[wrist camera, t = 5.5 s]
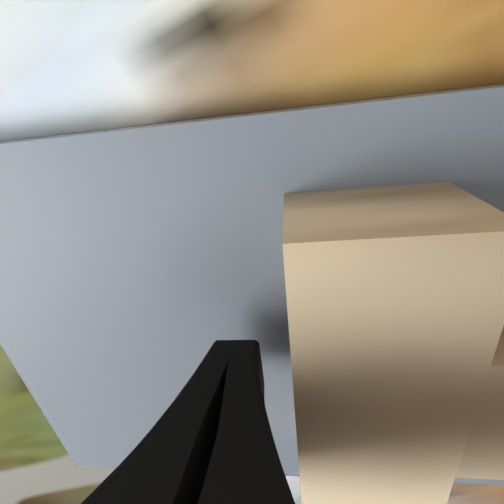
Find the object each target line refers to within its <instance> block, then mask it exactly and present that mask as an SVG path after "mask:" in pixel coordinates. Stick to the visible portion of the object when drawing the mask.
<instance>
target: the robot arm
mask: <svg viewBox="0 0 504 504" xmlns="http://www.w3.org/2000/svg"><path fill="white" fill-rule="evenodd" d="M81 504H295V503H294V500H293V497H292V494H291V491H290V488H289V485H288V483H287V480H286V477H285V474H284V471H283V468H282V465H281V461H280V458H279V455H278V452H277V449H276V445H275V442H274V438H273V435H272V431H271V427H270V424H269V420H268V416H267V412H266V408H265V400H264V376H263V368H262V360H261V352H260V344H259V342H258V341H256V340H216V341H215V342H214V343H213V345H212V346H211V348H210V349H209V351H208V352H207V354H206V355H205V357H204V359H203V360H202V362H201V363H200V365H199V366H198V368H197V369H196V370H195V372H194V373H193V375H192V376H191V378H190V379H189V380H188V382H187V383H186V385H185V386H184V387H183V389H182V390H181V391H180V393H179V394H178V396H177V397H176V398H175V400H174V401H173V402H172V404H171V405H170V406H169V407H168V409H167V410H166V411H165V412H164V414H163V415H162V416H161V417H160V419H159V420H158V421H157V422H156V424H155V425H154V426H153V427H152V429H151V430H150V431H149V432H148V433H147V434H146V436H145V437H144V438H143V439H142V440H141V441H140V443H139V444H138V445H137V446H136V447H135V448H134V449H133V450H132V452H131V453H130V454H129V455H128V456H127V457H126V458H125V459H124V460H123V461H122V462H121V464H120V465H119V466H118V467H117V468H116V469H115V470H114V471H113V472H112V473H111V474H110V475H109V476H108V477H107V478H106V479H105V480H104V481H103V482H102V483H101V484H100V485H99V486H98V487H97V488H96V489H95V490H94V491H93V492H92V493H91V494H90V495H89V496H88V497H87V498H86V499H85V500H84V501H83V502H82V503H81Z"/></svg>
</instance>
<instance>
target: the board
mask: <svg viewBox="0 0 504 504" xmlns="http://www.w3.org/2000/svg"><path fill="white" fill-rule="evenodd" d="M444 181H449V182H451V183H453V184H454V185H456V186H458V187H460V188H461V189H463V190H465V191H467V192H468V193H470V194H472V195H474V196H476V197H477V198H479V199H481V200H483V201H484V202H486V203H488V204H490V205H491V206H493V207H495V208H497V209H499V210H500V211H502V212H504V84H498V85H489V86H480V87H472V88H463V89H454V90H446V91H437V92H428V93H419V94H411V95H402V96H393V97H385V98H376V99H367V100H359V101H350V102H341V103H333V104H324V105H315V106H307V107H298V108H289V109H281V110H272V111H263V112H255V113H246V114H237V115H229V116H220V117H211V118H202V119H194V120H185V121H176V122H168V123H159V124H150V125H142V126H133V127H124V128H116V129H107V130H98V131H90V132H81V133H72V134H64V135H55V136H46V137H38V138H29V139H20V140H12V141H3V142H0V344H1V346H2V347H3V349H4V351H5V352H6V354H7V355H8V357H9V359H10V360H11V362H12V364H13V365H14V367H15V368H16V370H17V372H18V373H19V375H20V376H21V378H22V380H23V381H24V383H25V384H26V386H27V388H28V389H29V391H30V393H31V394H32V396H33V397H34V399H35V401H36V402H37V404H38V405H39V407H40V409H41V410H42V412H43V413H44V415H45V417H46V418H47V420H48V422H49V423H50V425H51V426H52V428H53V430H54V431H55V433H56V434H57V436H58V438H59V439H60V441H61V442H62V444H63V446H64V447H65V449H66V451H67V452H68V454H69V455H70V457H71V459H72V460H73V462H74V463H75V465H76V466H90V467H111V468H117V467H118V466H119V465H120V464H121V462H122V461H123V460H124V459H125V458H126V457H127V456H128V455H129V454H130V453H131V452H132V450H133V449H134V448H135V447H136V446H137V445H138V444H139V443H140V441H141V440H142V439H143V438H144V437H145V436H146V434H147V433H148V432H149V431H150V430H151V429H152V427H153V426H154V425H155V424H156V422H157V421H158V420H159V419H160V417H161V416H162V415H163V414H164V412H165V411H166V410H167V409H168V407H169V406H170V405H171V404H172V402H173V401H174V400H175V398H176V397H177V396H178V394H179V393H180V391H181V390H182V389H183V387H184V386H185V385H186V383H187V382H188V380H189V379H190V378H191V376H192V375H193V373H194V372H195V370H196V369H197V368H198V366H199V365H200V363H201V362H202V360H203V359H204V357H205V355H206V354H207V352H208V351H209V349H210V348H211V346H212V345H213V343H214V342H215V341H216V340H256V341H258V342H259V344H260V352H261V360H262V368H263V376H264V400H265V408H266V412H267V416H268V420H269V424H270V427H271V431H272V435H273V438H274V442H275V445H276V449H277V452H278V455H279V458H280V461H281V465H282V468H283V471H284V474H285V476H300V475H299V461H298V448H297V434H296V421H295V407H294V394H293V380H292V367H291V353H290V340H289V326H288V313H287V299H286V286H285V273H284V259H283V246H282V240H283V209H284V194H291V193H303V192H316V191H329V190H342V189H354V188H367V187H380V186H393V185H406V184H418V183H431V182H444ZM454 483H455V484H476V485H498V486H504V480H492V479H469V478H455V480H454Z"/></svg>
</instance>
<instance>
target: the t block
mask: <svg viewBox="0 0 504 504" xmlns="http://www.w3.org/2000/svg"><path fill="white" fill-rule="evenodd" d="M282 246H283V259H284V273H285V286H286V299H287V313H288V326H289V340H290V353H291V367H292V380H293V394H294V407H295V421H296V434H297V448H298V461H299V475H300V488H301V502H302V504H447V501H448V498H449V495H450V492H451V489H452V486H453V483H454V480H455V478H469V479H492V480H504V212H502V211H500V210H499V209H497V208H495V207H493V206H491V205H490V204H488V203H486V202H484V201H483V200H481V199H479V198H477V197H476V196H474V195H472V194H470V193H468V192H467V191H465V190H463V189H461V188H460V187H458V186H456V185H454V184H453V183H451V182H449V181H444V182H431V183H418V184H406V185H393V186H380V187H367V188H354V189H342V190H329V191H316V192H303V193H291V194H284V209H283V240H282Z"/></svg>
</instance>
